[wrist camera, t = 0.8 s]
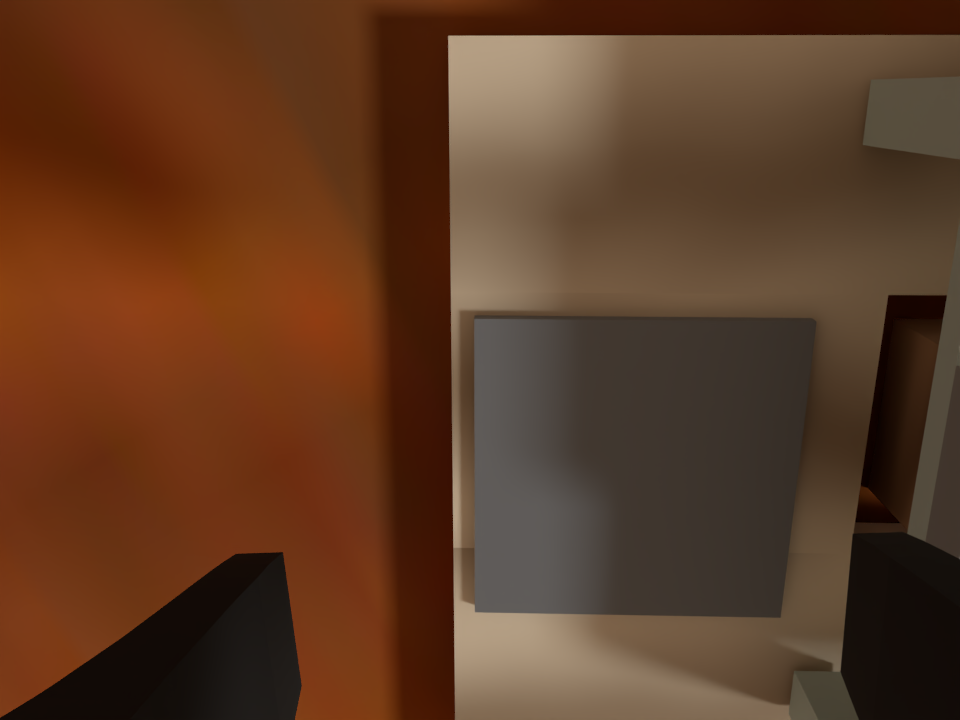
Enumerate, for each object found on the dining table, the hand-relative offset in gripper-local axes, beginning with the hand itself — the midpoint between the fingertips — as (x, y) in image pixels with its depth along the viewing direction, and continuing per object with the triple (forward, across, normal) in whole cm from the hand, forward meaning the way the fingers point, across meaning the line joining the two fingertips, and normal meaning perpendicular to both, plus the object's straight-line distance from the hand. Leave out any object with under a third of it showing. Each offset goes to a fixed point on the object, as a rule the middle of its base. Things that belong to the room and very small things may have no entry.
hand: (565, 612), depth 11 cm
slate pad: (+8, -2, +2) cm, 8 cm away
